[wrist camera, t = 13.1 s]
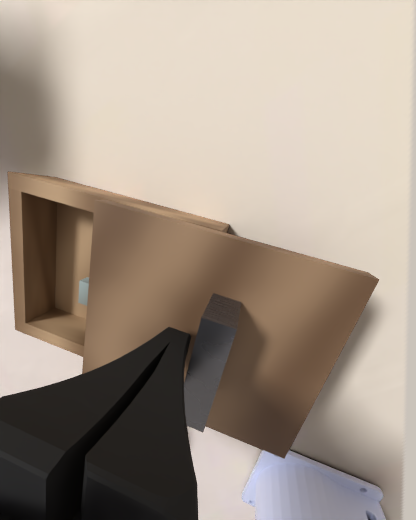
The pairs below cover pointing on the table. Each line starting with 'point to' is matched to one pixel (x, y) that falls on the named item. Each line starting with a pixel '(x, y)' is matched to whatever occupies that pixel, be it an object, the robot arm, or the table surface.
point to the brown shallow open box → (60, 253)
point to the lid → (222, 318)
